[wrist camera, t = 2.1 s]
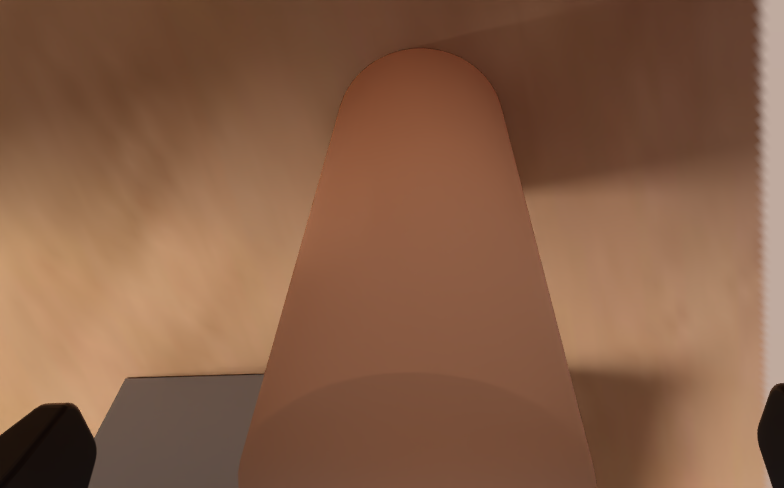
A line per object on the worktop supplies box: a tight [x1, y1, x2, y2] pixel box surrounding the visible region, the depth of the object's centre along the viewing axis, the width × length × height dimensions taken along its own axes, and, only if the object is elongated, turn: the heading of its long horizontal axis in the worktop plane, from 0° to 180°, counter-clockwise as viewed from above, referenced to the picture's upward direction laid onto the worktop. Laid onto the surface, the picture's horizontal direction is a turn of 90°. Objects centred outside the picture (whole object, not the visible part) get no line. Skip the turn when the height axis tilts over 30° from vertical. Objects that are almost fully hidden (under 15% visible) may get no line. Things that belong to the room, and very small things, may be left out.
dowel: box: [238, 48, 597, 488], centre depth 11 cm, size 4×4×10 cm
